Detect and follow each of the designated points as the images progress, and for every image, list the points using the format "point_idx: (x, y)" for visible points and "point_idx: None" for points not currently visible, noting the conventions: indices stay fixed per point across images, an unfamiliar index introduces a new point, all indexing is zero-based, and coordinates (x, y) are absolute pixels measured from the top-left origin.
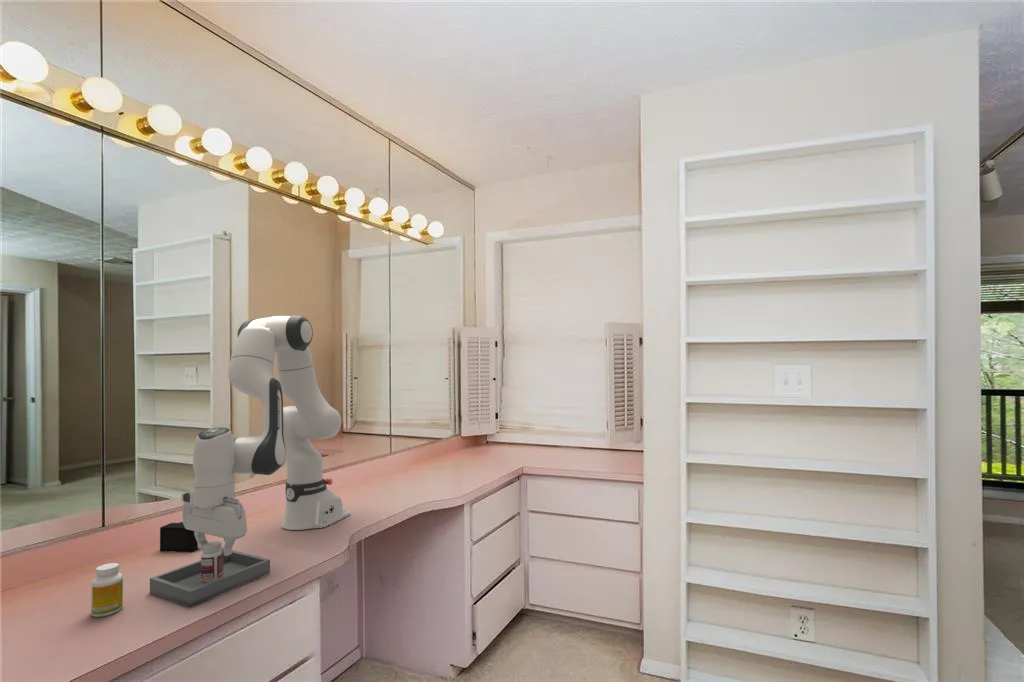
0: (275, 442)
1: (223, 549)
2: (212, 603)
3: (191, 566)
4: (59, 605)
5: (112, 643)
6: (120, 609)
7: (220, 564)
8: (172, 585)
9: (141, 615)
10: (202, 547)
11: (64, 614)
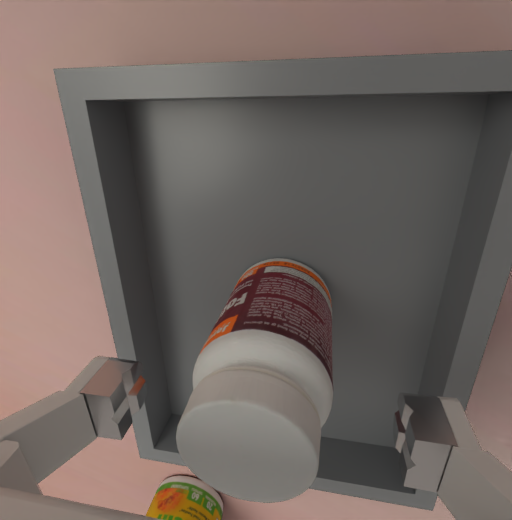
0: None
1: (433, 483)
2: (473, 409)
3: (134, 327)
4: (55, 491)
5: None
6: (214, 489)
7: (331, 340)
8: None
9: (306, 497)
10: (138, 399)
11: None
